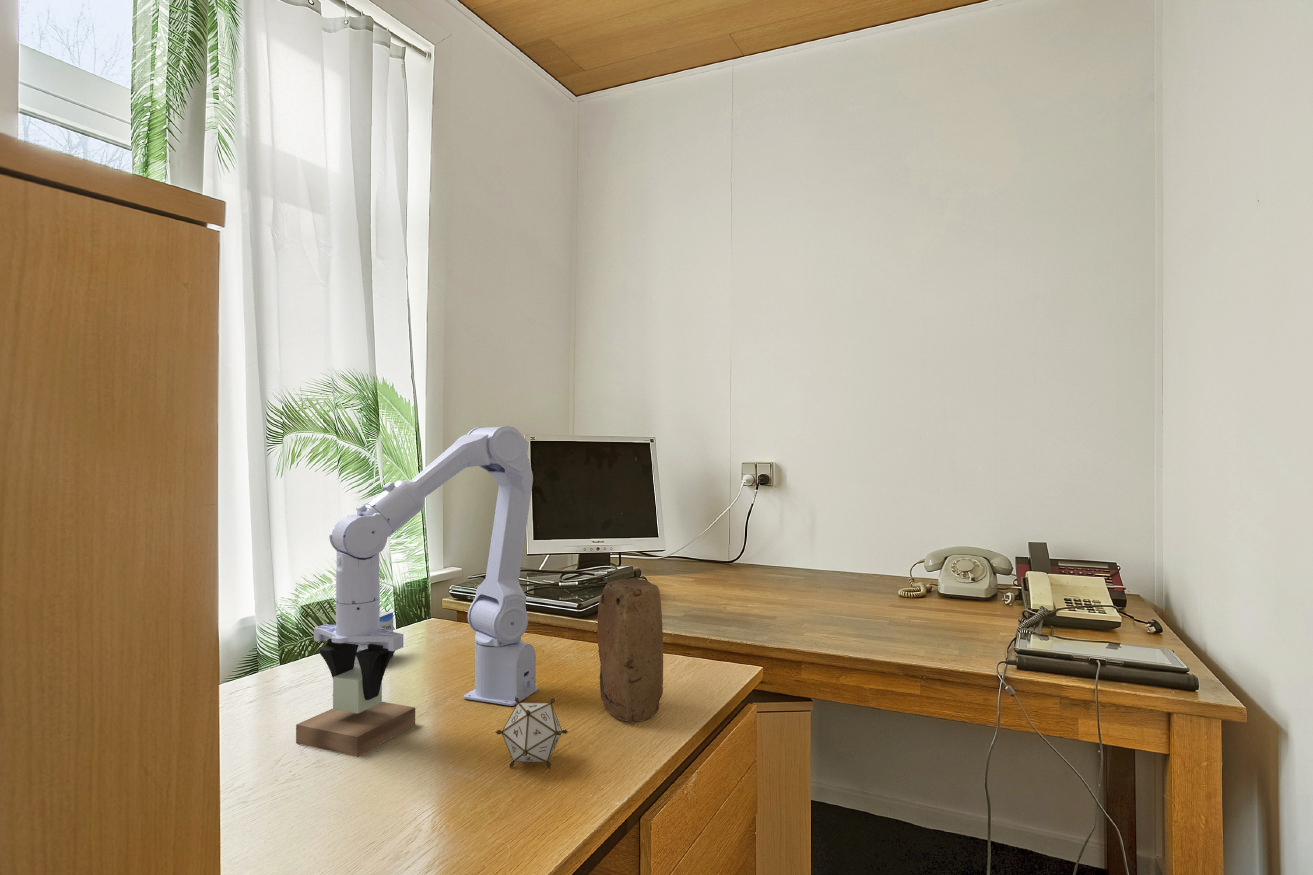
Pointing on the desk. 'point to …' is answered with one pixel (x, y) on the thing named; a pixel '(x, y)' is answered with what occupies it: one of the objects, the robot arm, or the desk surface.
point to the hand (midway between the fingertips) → (357, 695)
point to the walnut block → (355, 728)
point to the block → (630, 648)
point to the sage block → (352, 692)
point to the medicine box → (385, 623)
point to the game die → (532, 732)
